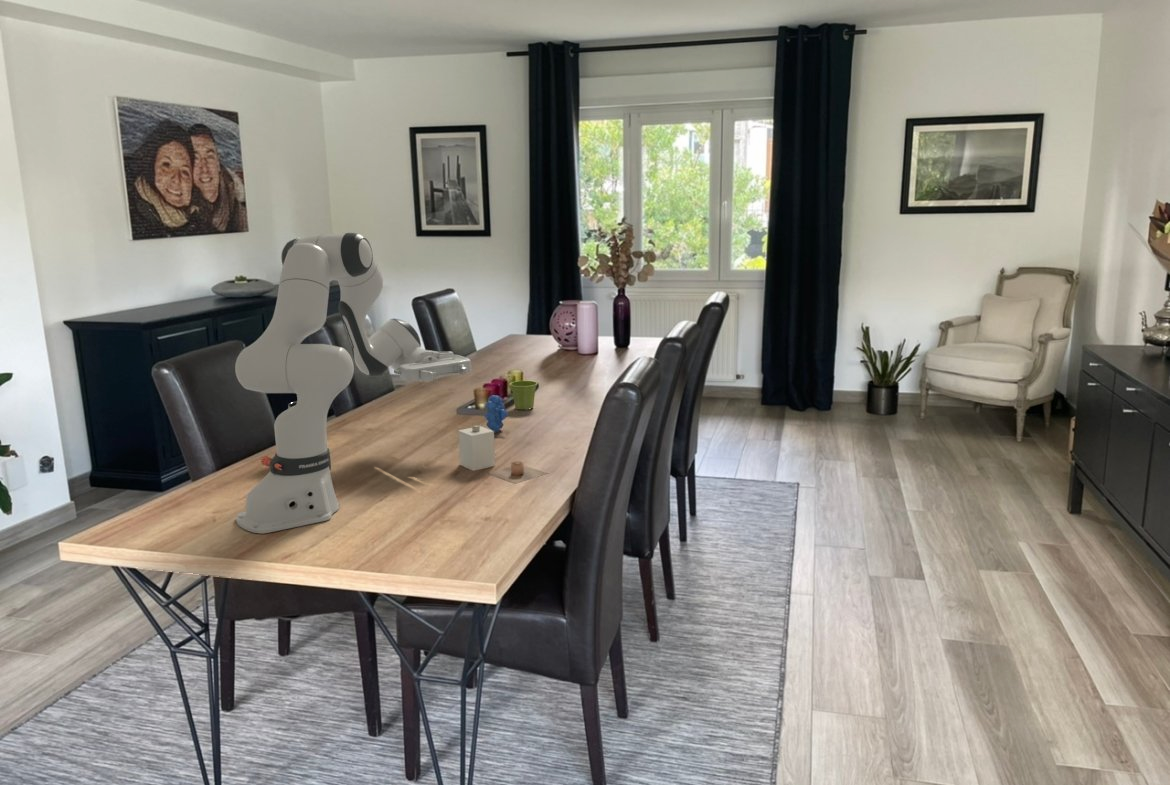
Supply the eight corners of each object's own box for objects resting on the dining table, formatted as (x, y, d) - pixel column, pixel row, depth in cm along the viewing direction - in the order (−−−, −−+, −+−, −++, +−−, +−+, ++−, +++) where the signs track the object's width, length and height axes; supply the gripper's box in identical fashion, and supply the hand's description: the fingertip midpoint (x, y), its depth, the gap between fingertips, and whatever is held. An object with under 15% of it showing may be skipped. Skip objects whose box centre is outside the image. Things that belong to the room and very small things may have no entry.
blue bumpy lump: (501, 438, 255) (500, 399, 253) (480, 437, 257) (479, 398, 254) (515, 428, 266) (514, 390, 263) (495, 427, 268) (494, 389, 265)
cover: (473, 472, 223) (471, 431, 220) (459, 466, 228) (458, 426, 225) (495, 467, 227) (493, 426, 224) (481, 461, 232) (479, 421, 229)
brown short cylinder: (516, 476, 218) (516, 465, 217) (508, 473, 220) (508, 462, 219) (526, 473, 220) (526, 462, 219) (518, 470, 222) (518, 460, 221)
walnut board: (514, 488, 213) (514, 483, 212) (487, 478, 220) (487, 473, 220) (548, 477, 220) (548, 473, 220) (520, 468, 228) (520, 464, 227)
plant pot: (506, 406, 293) (505, 382, 291) (532, 403, 297) (531, 379, 295) (516, 413, 285) (515, 387, 283) (542, 409, 289) (541, 384, 287)
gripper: (390, 359, 234) (414, 367, 224) (455, 350, 247) (481, 357, 236) (391, 382, 236) (415, 390, 225) (456, 371, 248) (482, 379, 238)
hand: (449, 373), depth 231 cm, fingers open, 8 cm apart
